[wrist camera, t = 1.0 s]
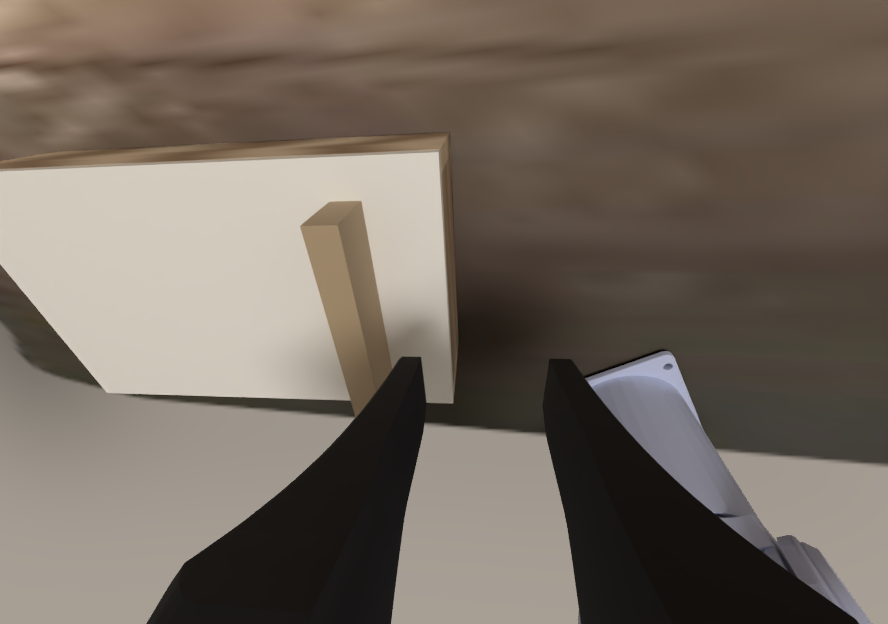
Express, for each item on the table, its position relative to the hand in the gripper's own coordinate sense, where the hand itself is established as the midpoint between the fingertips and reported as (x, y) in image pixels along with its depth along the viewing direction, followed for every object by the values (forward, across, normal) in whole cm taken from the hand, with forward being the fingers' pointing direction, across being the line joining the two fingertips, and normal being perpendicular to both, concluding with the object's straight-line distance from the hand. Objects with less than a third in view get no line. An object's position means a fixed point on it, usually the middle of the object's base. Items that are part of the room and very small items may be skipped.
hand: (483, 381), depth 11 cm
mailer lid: (+5, +12, 0) cm, 13 cm away
